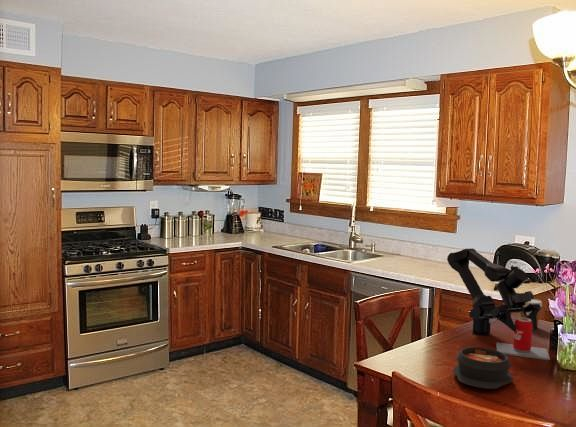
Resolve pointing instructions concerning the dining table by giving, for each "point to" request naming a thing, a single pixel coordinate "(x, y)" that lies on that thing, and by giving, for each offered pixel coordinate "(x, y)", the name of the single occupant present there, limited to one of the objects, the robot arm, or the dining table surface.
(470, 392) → the dining table surface
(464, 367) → the casserole
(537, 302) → the disposable coffee cup
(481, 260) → the robot arm
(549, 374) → the dining table surface
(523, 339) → the beverage can
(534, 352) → the slate mat
